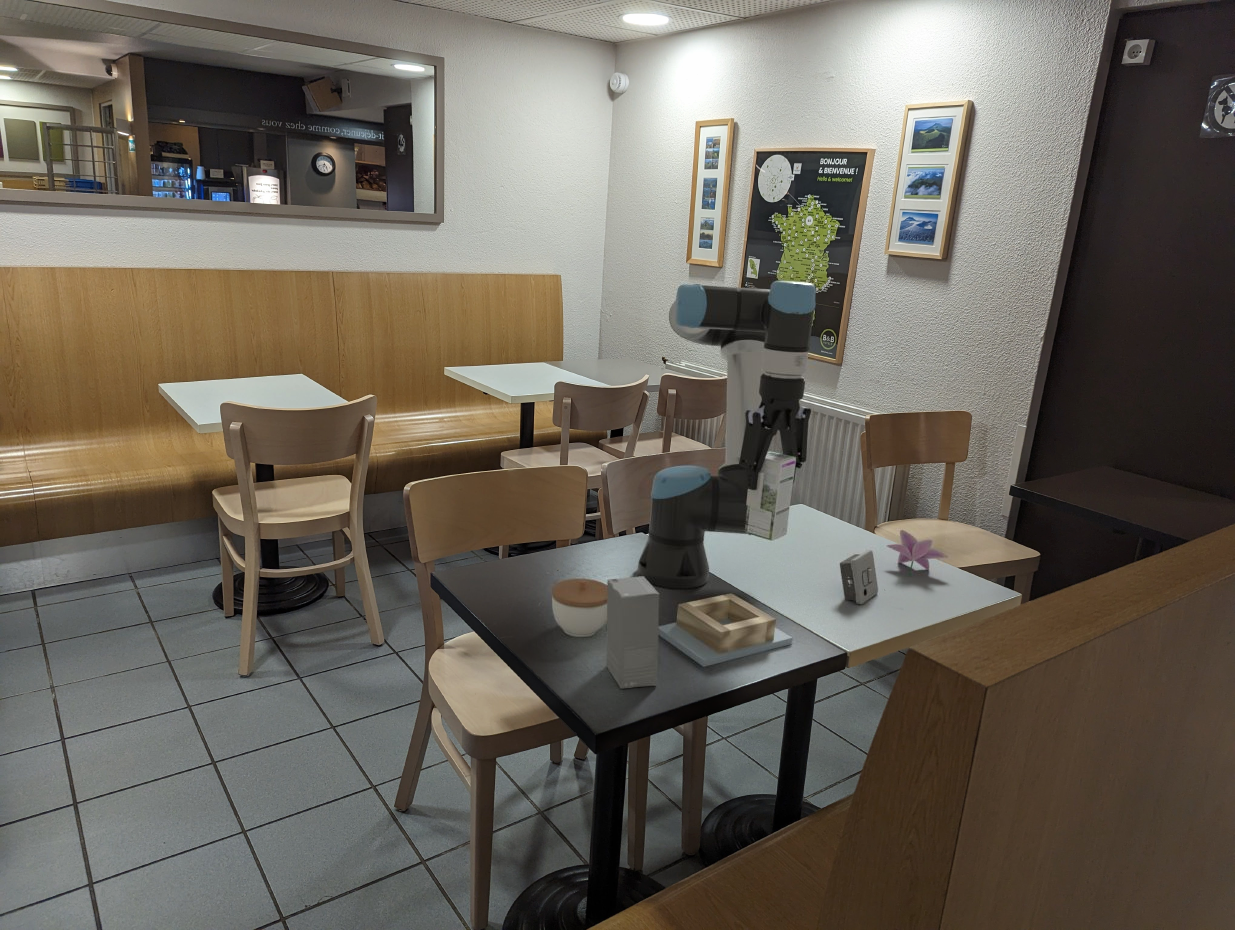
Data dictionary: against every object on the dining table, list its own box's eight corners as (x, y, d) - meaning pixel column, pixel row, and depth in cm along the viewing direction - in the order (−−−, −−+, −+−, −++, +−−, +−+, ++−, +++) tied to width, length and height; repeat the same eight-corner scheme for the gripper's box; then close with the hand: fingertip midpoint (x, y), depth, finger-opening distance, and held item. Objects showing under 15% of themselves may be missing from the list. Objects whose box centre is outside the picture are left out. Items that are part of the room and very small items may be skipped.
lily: (950, 585, 190) (954, 543, 193) (921, 572, 183) (925, 529, 186) (903, 583, 200) (907, 543, 202) (873, 571, 193) (878, 530, 195)
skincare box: (658, 686, 136) (665, 594, 132) (615, 690, 134) (621, 597, 130) (641, 661, 144) (648, 573, 140) (600, 665, 142) (606, 575, 138)
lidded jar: (553, 615, 160) (555, 567, 157) (610, 619, 159) (614, 572, 157) (547, 641, 149) (549, 591, 147) (608, 645, 149) (611, 595, 147)
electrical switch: (860, 606, 173) (862, 562, 171) (836, 601, 176) (838, 557, 174) (878, 593, 180) (880, 551, 178) (855, 589, 183) (857, 547, 181)
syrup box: (787, 534, 153) (797, 456, 149) (771, 542, 148) (781, 460, 145) (759, 526, 156) (769, 449, 153) (742, 533, 152) (752, 453, 148)
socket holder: (703, 666, 144) (706, 638, 142) (656, 632, 155) (658, 606, 154) (791, 643, 154) (795, 617, 153) (741, 613, 165) (744, 588, 164)
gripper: (756, 380, 137) (742, 517, 142) (839, 376, 148) (822, 503, 154) (725, 373, 142) (712, 505, 148) (806, 369, 154) (791, 492, 160)
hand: (768, 504), depth 151 cm, fingers closed on syrup box, 7 cm apart
